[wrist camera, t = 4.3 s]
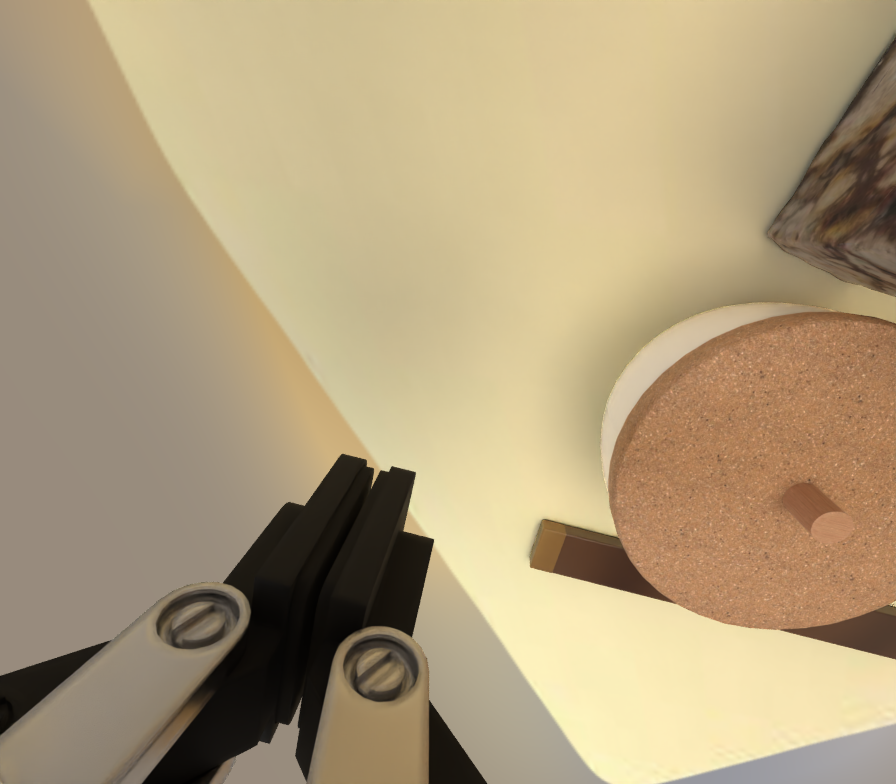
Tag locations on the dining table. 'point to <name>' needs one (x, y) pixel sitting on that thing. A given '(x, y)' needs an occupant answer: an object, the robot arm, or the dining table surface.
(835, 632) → the walnut straight-edge
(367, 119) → the dining table surface
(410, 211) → the dining table surface
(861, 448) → the trinket box
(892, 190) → the stone block
